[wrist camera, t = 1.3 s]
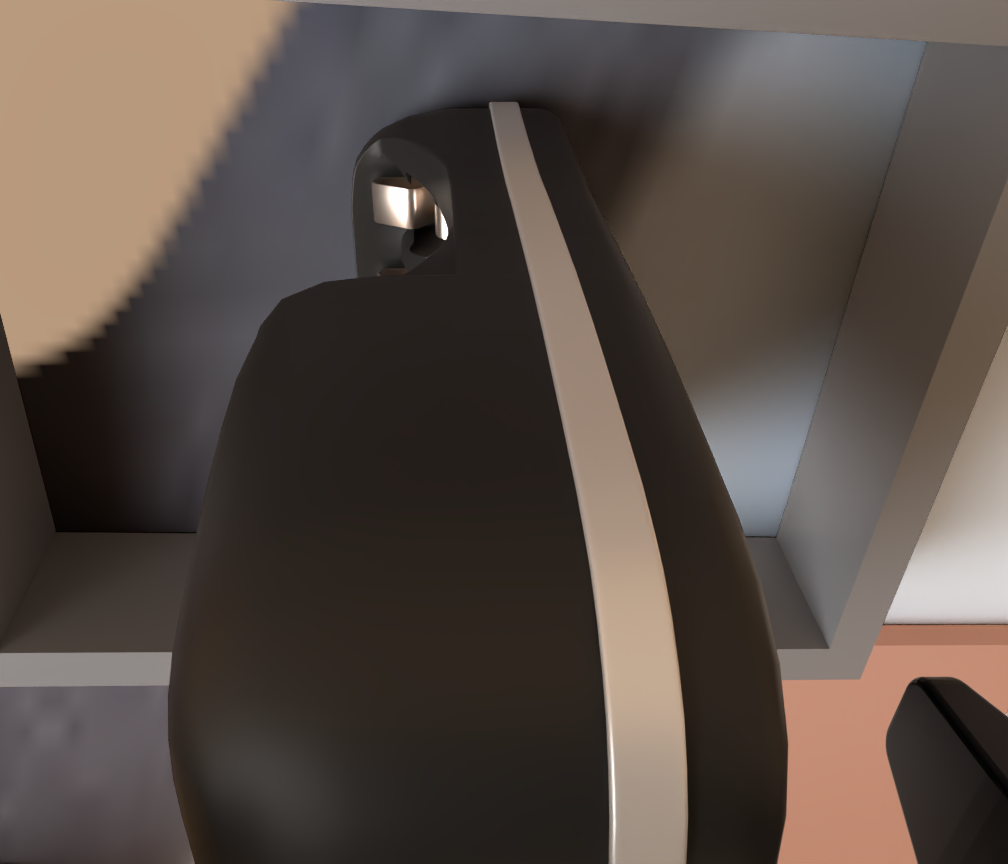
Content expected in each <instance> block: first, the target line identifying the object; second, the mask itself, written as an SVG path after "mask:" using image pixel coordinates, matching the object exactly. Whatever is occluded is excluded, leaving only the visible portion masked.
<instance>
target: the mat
mask: <svg viewBox="0 0 1008 864" xmlns="http://www.w3.org/2000/svg"><path fill="white" fill-rule="evenodd" d="M917 677H954V678H957V679H959V680H961V681H963V682H964V683H966V684H967V685H968V686H970V687H971V688H972V689H973V690H975V691H976V692H977V693H979V694H980V695H981V696H982V697H984V698H985V699H986V700H987V701H989V702H990V703H991V704H993V705H994V706H995V707H996V708H998V709H999V710H1000V711H1001V712H1003V713H1004V714H1006V713H1007V711H1008V625H882V628H881V630H880V633H879V635H878V637H877V640H876V642H875V645H874V647H873V649H872V652H871V654H870V657H869V659H868V661H867V664H866V666H865V669H864V671H863V674H862V676H861V678H860V679H856V680H782V688H783V698H784V707H785V717H786V726H787V736H788V773H787V810H786V820H785V826H784V831H783V836H782V842H781V847H780V852H779V858H778V863H777V864H917V861H916V857H915V854H914V850H913V846H912V843H911V839H910V836H909V832H908V829H907V825H906V822H905V818H904V815H903V811H902V808H901V804H900V801H899V797H898V794H897V790H896V786H895V783H894V779H893V776H892V772H891V769H890V765H889V762H888V758H887V754H886V733H887V729H888V727H889V725H890V722H891V720H892V718H893V716H894V714H895V711H896V709H897V707H898V705H899V703H900V701H901V698H902V696H903V694H904V692H905V690H906V687H907V686H908V684H909V683H910V682H911V681H912V680H913V679H915V678H917Z"/></svg>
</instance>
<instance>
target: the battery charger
mask: <svg viewBox="0 0 1008 864" xmlns="http://www.w3.org/2000/svg"><path fill="white" fill-rule="evenodd" d="M352 225H353V238H354V250H355V262H356V275H357V278H355V279H346V280H337V281H329V282H323V283H321V284H318V285H316V286H313V287H311V288H308V289H306V290H303V291H301V292H298V293H296V294H294V295H291V296H289V297H286V298H284V299H282V300H281V301H280V302H279V303H278V305H277V306H276V307H275V308H274V310H273V311H272V312H271V313H270V315H269V316H268V317H267V318H266V320H265V321H264V322H263V323H262V325H261V326H260V328H259V331H258V334H257V337H256V339H255V341H254V343H253V345H252V348H251V350H250V352H249V354H248V356H247V358H246V360H245V362H244V364H243V366H242V368H241V371H240V373H239V375H238V377H237V379H236V382H235V385H234V388H233V392H232V395H231V398H230V402H229V405H228V408H227V412H226V415H225V418H224V422H223V425H222V428H221V432H220V436H219V440H218V444H217V448H216V452H215V456H214V460H213V464H212V468H211V471H210V475H209V479H208V484H207V488H206V492H205V497H204V501H203V505H202V510H201V514H200V518H199V523H198V527H197V532H196V536H195V540H194V545H193V550H192V555H191V559H190V564H189V569H188V574H187V579H186V583H185V588H184V593H183V598H182V603H181V607H180V612H179V618H178V623H177V629H176V634H175V640H174V645H173V651H172V660H171V670H170V681H169V691H168V741H169V749H170V757H171V765H172V773H173V781H174V785H175V789H176V794H177V798H178V802H179V806H180V811H181V815H182V819H183V822H184V826H185V829H186V833H187V836H188V840H189V843H190V847H191V850H192V854H193V857H194V861H195V864H777V863H778V858H779V852H780V847H781V842H782V836H783V831H784V826H785V820H786V810H787V773H788V736H787V726H786V717H785V707H784V698H783V688H782V679H781V669H780V662H779V658H778V653H777V649H776V644H775V640H774V635H773V631H772V627H771V622H770V618H769V613H768V609H767V604H766V600H765V595H764V591H763V587H762V584H761V581H760V578H759V575H758V572H757V569H756V567H755V564H754V561H753V558H752V555H751V552H750V549H749V546H748V543H747V540H746V538H745V535H744V532H743V529H742V526H741V523H740V520H739V518H738V515H737V513H736V510H735V508H734V505H733V503H732V501H731V498H730V496H729V493H728V491H727V488H726V486H725V484H724V481H723V479H722V476H721V474H720V471H719V469H718V466H717V464H716V462H715V459H714V457H713V454H712V452H711V450H710V447H709V445H708V442H707V440H706V438H705V435H704V433H703V431H702V428H701V426H700V423H699V421H698V419H697V416H696V414H695V412H694V409H693V407H692V404H691V402H690V400H689V397H688V395H687V393H686V390H685V388H684V386H683V383H682V381H681V379H680V376H679V374H678V372H677V370H676V367H675V365H674V363H673V360H672V358H671V356H670V353H669V351H668V349H667V347H666V345H665V342H664V340H663V338H662V336H661V334H660V331H659V329H658V327H657V325H656V323H655V321H654V318H653V316H652V314H651V312H650V310H649V307H648V305H647V303H646V301H645V299H644V297H643V295H642V293H641V291H640V289H639V287H638V285H637V283H636V281H635V279H634V277H633V275H632V273H631V270H630V268H629V266H628V264H627V262H626V261H625V259H624V257H623V255H622V252H621V250H620V248H619V246H618V244H617V242H616V241H615V239H614V237H613V235H612V233H611V231H610V229H609V227H608V225H607V223H606V221H605V219H604V218H603V216H602V214H601V212H600V210H599V208H598V206H597V204H596V203H595V201H594V198H593V196H592V194H591V192H590V190H589V188H588V185H587V183H586V181H585V178H584V176H583V173H582V171H581V168H580V166H579V164H578V161H577V159H576V156H575V154H574V151H573V149H572V146H571V144H570V141H569V139H568V136H567V134H566V131H565V128H564V126H563V124H562V122H561V120H560V118H559V117H558V116H557V115H555V114H554V113H552V112H550V111H549V110H546V109H538V108H520V107H519V104H518V103H517V102H489V108H463V109H441V110H438V111H434V112H430V113H425V114H420V115H415V116H410V117H407V118H405V119H402V120H400V121H398V122H395V123H393V124H391V125H389V126H387V127H385V128H383V129H382V130H380V131H379V132H378V133H376V134H375V135H374V136H373V137H372V138H371V139H370V140H369V142H368V143H367V144H366V145H365V146H364V147H363V149H362V151H361V152H360V154H359V156H358V157H357V160H356V164H355V168H354V173H353V181H352Z"/></svg>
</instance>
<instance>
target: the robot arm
mask: <svg viewBox="0 0 1008 864" xmlns="http://www.w3.org/2000/svg"><path fill="white" fill-rule="evenodd" d="M886 754H887V758H888V762H889V765H890V769H891V772H892V776H893V779H894V783H895V786H896V790H897V794H898V797H899V801H900V804H901V808H902V811H903V815H904V818H905V822H906V825H907V829H908V832H909V836H910V839H911V843H912V846H913V850H914V854H915V857H916V861H917V864H1008V716H1006V715H1005V714H1004V713H1003V712H1001V711H1000V710H999V709H998V708H996V707H995V706H994V705H993V704H991V703H990V702H989V701H987V700H986V699H985V698H984V697H982V696H981V695H980V694H979V693H977V692H976V691H975V690H973V689H972V688H971V687H970V686H968V685H967V684H966V683H964V682H963V681H961V680H959V679H957V678H954V677H917V678H915V679H913V680H912V681H911V682H910V683H909V684H908V686H907V687H906V690H905V692H904V694H903V696H902V698H901V701H900V703H899V705H898V707H897V709H896V711H895V714H894V716H893V718H892V720H891V722H890V725H889V727H888V729H887V733H886Z"/></svg>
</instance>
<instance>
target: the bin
mask: <svg viewBox="0 0 1008 864" xmlns="http://www.w3.org/2000/svg"><path fill="white" fill-rule="evenodd" d="M278 1H294V2H310V3H325V4H341V5H357V6H373V7H389V8H405V9H421V10H437V11H453V12H468V13H484V14H500V15H516V16H532V17H548V18H564V19H580V20H596V21H611V22H627V23H643V24H659V25H675V26H691V27H707V28H723V29H739V30H754V31H770V32H786V33H802V34H818V35H834V36H850V37H866V38H881V39H897V40H913V41H927V44H926V47H925V50H924V54H923V57H922V60H921V63H920V67H919V70H918V73H917V77H916V80H915V83H914V86H913V90H912V93H911V96H910V100H909V103H908V106H907V109H906V113H905V116H904V119H903V123H902V126H901V129H900V132H899V136H898V139H897V142H896V146H895V149H894V152H893V155H892V159H891V162H890V165H889V169H888V172H887V175H886V178H885V182H884V185H883V188H882V192H881V195H880V198H879V201H878V205H877V208H876V211H875V215H874V218H873V221H872V224H871V228H870V231H869V234H868V238H867V241H866V244H865V247H864V251H863V254H862V257H861V261H860V264H859V267H858V270H857V274H856V277H855V280H854V284H853V287H852V290H851V293H850V297H849V300H848V303H847V307H846V310H845V313H844V316H843V320H842V323H841V326H840V330H839V333H838V336H837V339H836V343H835V346H834V349H833V353H832V356H831V359H830V362H829V366H828V369H827V372H826V376H825V379H824V382H823V385H822V389H821V392H820V395H819V399H818V402H817V405H816V408H815V412H814V415H813V418H812V422H811V425H810V428H809V431H808V435H807V438H806V441H805V445H804V448H803V451H802V454H801V458H800V461H799V464H798V468H797V471H796V474H795V477H794V481H793V484H792V487H791V491H790V494H789V497H788V500H787V504H786V507H785V510H784V513H783V517H782V520H781V523H780V527H779V530H778V533H777V536H776V538H761V537H745V538H746V540H747V543H748V546H749V549H750V552H751V555H752V558H753V561H754V564H755V567H756V569H757V572H758V575H759V578H760V581H761V584H762V587H763V591H764V595H765V600H766V604H767V609H768V613H769V618H770V622H771V627H772V631H773V635H774V640H775V644H776V649H777V653H778V658H779V662H780V669H781V679H782V680H856V679H860V678H861V676H862V674H863V671H864V669H865V666H866V664H867V661H868V659H869V657H870V654H871V652H872V649H873V647H874V645H875V642H876V640H877V637H878V635H879V633H880V630H881V628H882V625H883V623H884V621H885V618H886V616H887V613H888V611H889V609H890V606H891V604H892V601H893V599H894V597H895V594H896V592H897V589H898V587H899V585H900V582H901V580H902V577H903V575H904V572H905V570H906V568H907V565H908V563H909V560H910V558H911V556H912V553H913V551H914V548H915V546H916V544H917V541H918V539H919V536H920V534H921V532H922V529H923V527H924V524H925V522H926V520H927V517H928V515H929V512H930V510H931V508H932V505H933V503H934V500H935V498H936V496H937V493H938V491H939V488H940V486H941V484H942V481H943V479H944V476H945V474H946V471H947V469H948V467H949V464H950V462H951V459H952V457H953V455H954V452H955V450H956V447H957V445H958V443H959V440H960V438H961V435H962V433H963V431H964V428H965V426H966V423H967V421H968V419H969V416H970V414H971V411H972V409H973V407H974V404H975V402H976V399H977V397H978V395H979V392H980V390H981V387H982V385H983V382H984V380H985V378H986V375H987V373H988V370H989V368H990V366H991V363H992V361H993V358H994V356H995V354H996V351H997V349H998V346H999V344H1000V342H1001V339H1002V337H1003V334H1004V332H1005V330H1006V327H1007V325H1008V0H278ZM195 536H196V533H68V532H56V530H55V526H54V522H53V518H52V514H51V510H50V506H49V502H48V499H47V495H46V491H45V487H44V483H43V479H42V475H41V471H40V467H39V463H38V459H37V456H36V452H35V448H34V444H33V440H32V436H31V432H30V428H29V424H28V420H27V416H26V412H25V409H24V405H23V401H22V397H21V393H20V389H19V385H18V381H17V377H16V373H15V369H14V366H13V362H12V358H11V354H10V350H9V346H8V342H7V338H6V334H5V331H4V326H3V323H2V319H1V315H0V687H32V686H149V685H169V681H170V670H171V660H172V651H173V645H174V640H175V634H176V629H177V623H178V618H179V612H180V607H181V603H182V598H183V593H184V588H185V583H186V579H187V574H188V569H189V564H190V559H191V555H192V550H193V545H194V540H195Z"/></svg>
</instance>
